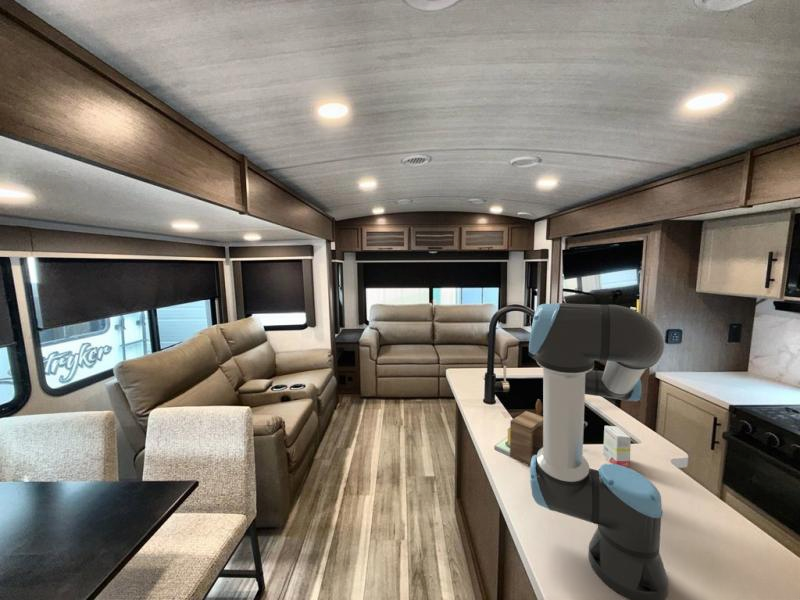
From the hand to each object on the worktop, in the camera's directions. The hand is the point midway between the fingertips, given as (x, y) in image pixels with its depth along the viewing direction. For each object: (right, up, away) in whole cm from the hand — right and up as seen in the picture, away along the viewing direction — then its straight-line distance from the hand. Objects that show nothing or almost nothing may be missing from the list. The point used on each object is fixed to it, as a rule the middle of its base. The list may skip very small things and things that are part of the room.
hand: (565, 461), depth 109 cm
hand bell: (+2, -2, +25) cm, 25 cm away
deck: (-9, -3, +11) cm, 14 cm away
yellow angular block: (-8, -1, +9) cm, 12 cm away
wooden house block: (-9, -3, +11) cm, 14 cm away
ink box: (+22, -3, +6) cm, 23 cm away
